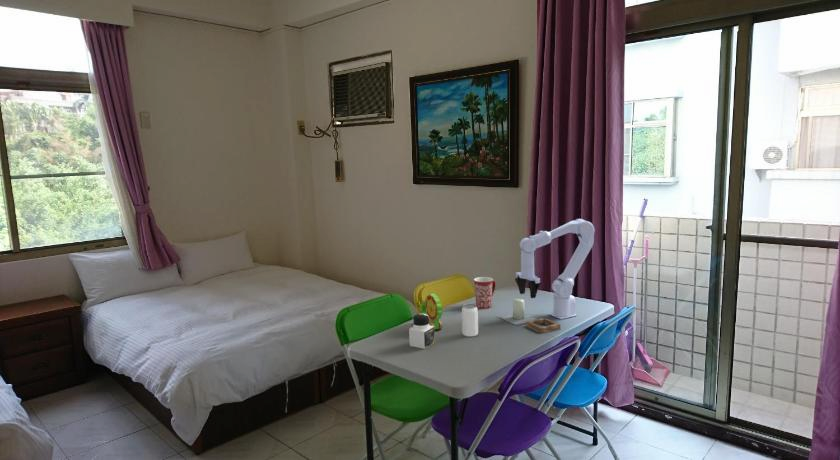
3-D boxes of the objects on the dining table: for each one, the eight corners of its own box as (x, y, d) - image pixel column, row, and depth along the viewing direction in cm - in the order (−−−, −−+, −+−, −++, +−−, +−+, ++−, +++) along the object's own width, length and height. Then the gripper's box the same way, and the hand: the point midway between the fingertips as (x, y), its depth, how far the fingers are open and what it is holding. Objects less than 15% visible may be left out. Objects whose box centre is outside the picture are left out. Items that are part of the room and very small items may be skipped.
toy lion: (417, 323, 227) (416, 289, 225) (428, 321, 230) (427, 288, 227) (434, 334, 213) (433, 298, 211) (446, 331, 216) (445, 296, 213)
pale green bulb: (519, 315, 232) (520, 298, 230) (526, 318, 227) (527, 301, 226) (510, 317, 230) (510, 299, 228) (517, 320, 225) (517, 302, 224)
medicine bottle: (425, 349, 197) (424, 319, 196) (409, 346, 201) (408, 316, 199) (434, 343, 203) (433, 313, 202) (419, 340, 207) (418, 311, 205)
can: (479, 332, 214) (479, 304, 212) (476, 337, 208) (475, 308, 206) (464, 331, 216) (463, 303, 214) (460, 336, 210) (459, 307, 208)
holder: (544, 322, 223) (544, 317, 223) (560, 329, 215) (560, 324, 214) (525, 326, 219) (525, 321, 219) (541, 333, 210) (541, 328, 210)
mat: (521, 313, 236) (521, 312, 236) (538, 320, 226) (538, 319, 226) (499, 317, 231) (499, 316, 231) (515, 325, 220) (515, 324, 220)
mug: (484, 310, 242) (483, 282, 240) (470, 306, 249) (469, 279, 247) (502, 304, 250) (502, 277, 248) (488, 301, 257) (487, 274, 255)
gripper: (510, 263, 232) (510, 293, 234) (530, 269, 219) (530, 301, 221) (523, 261, 235) (523, 290, 237) (544, 267, 222) (543, 298, 224)
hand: (527, 295), depth 229 cm, fingers open, 7 cm apart
